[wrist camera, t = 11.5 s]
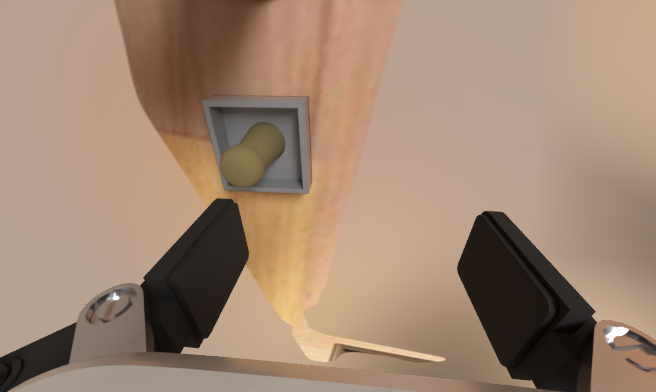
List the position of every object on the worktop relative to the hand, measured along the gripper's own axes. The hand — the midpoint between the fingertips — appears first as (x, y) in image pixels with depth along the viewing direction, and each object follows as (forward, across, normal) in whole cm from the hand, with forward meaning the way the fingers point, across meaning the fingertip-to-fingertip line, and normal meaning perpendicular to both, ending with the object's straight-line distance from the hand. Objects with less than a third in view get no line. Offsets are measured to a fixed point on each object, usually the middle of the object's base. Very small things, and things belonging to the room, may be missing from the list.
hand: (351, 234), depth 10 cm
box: (+28, +13, +6) cm, 32 cm away
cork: (+28, +13, +6) cm, 31 cm away
